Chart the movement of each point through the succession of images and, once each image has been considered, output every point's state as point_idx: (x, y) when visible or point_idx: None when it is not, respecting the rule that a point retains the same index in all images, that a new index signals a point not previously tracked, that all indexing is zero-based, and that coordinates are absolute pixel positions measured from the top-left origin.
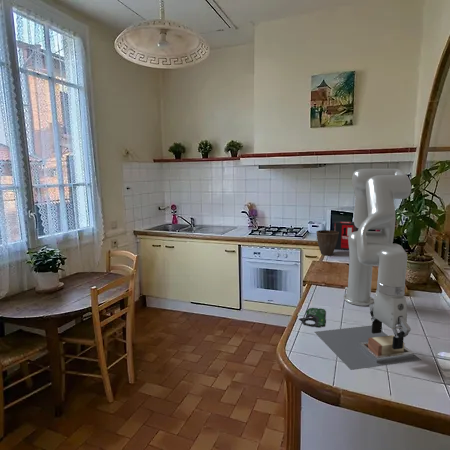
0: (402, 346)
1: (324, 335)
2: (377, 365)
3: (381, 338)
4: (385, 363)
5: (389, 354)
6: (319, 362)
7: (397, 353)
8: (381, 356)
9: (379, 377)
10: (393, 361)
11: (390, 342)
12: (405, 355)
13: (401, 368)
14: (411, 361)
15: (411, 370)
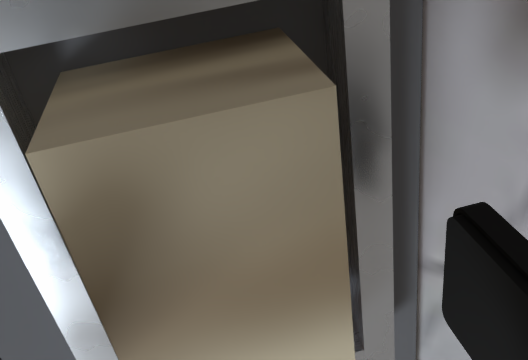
0: (497, 219)
1: None
2: (409, 329)
3: (173, 353)
4: (400, 271)
5: (358, 250)
6: None
7: (353, 162)
8: (376, 324)
9: None
10: None
11: (295, 283)
12: (384, 69)
13: (471, 157)
14: (422, 4)
15: (523, 81)
